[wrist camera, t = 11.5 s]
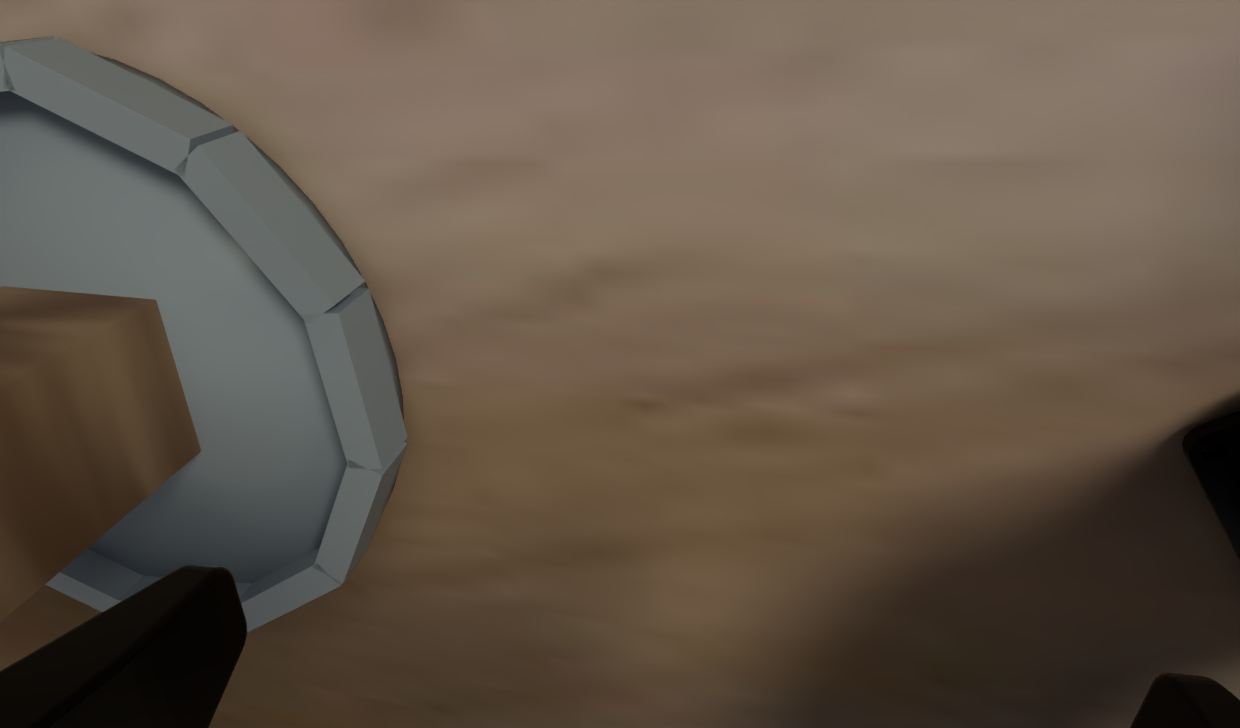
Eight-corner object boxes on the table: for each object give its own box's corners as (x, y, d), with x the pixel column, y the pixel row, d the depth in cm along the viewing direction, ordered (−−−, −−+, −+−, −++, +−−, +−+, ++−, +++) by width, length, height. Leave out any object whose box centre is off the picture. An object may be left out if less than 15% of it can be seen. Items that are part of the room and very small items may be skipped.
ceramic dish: (525, 462, 23) (503, 505, 22) (174, 645, 31) (136, 688, 29) (42, -126, 18) (-38, -132, 17) (-236, 265, 26) (-311, 289, 24)
